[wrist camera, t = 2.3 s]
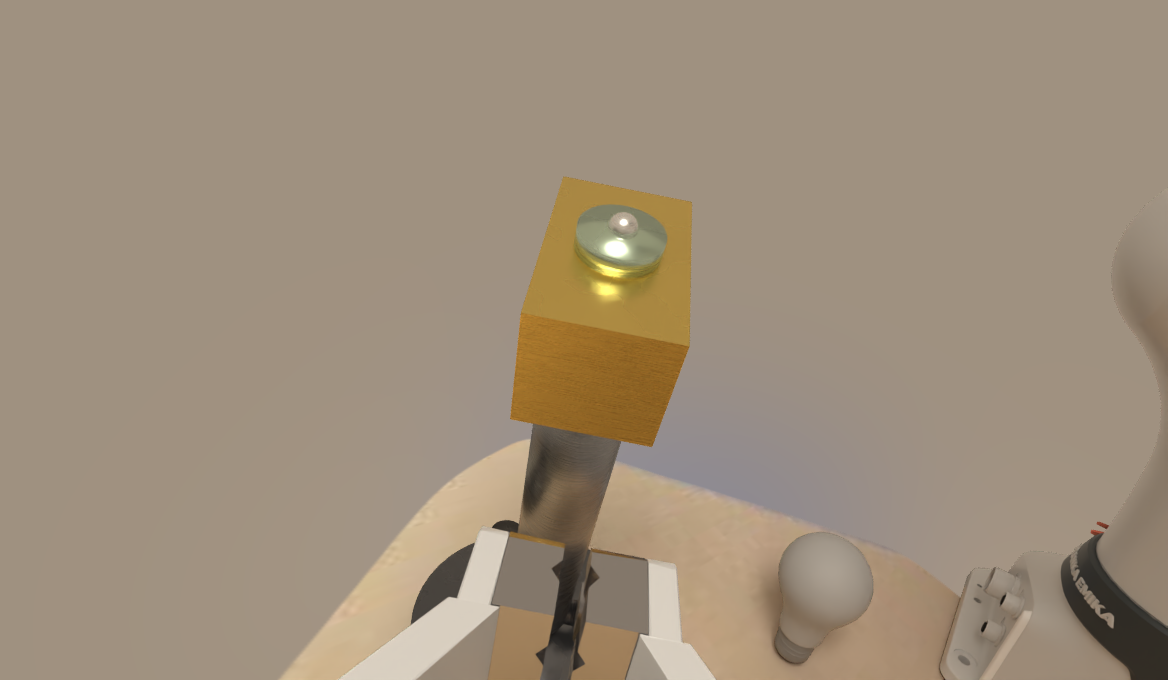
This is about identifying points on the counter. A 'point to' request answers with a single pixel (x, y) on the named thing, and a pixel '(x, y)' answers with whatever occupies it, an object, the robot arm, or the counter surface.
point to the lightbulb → (819, 591)
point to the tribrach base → (448, 585)
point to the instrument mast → (597, 354)
